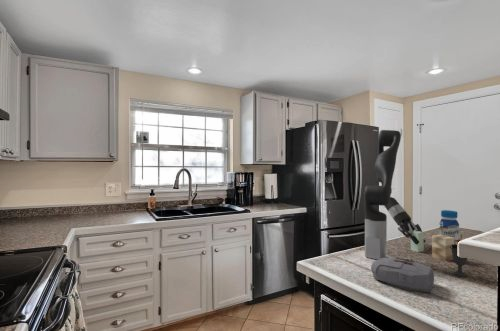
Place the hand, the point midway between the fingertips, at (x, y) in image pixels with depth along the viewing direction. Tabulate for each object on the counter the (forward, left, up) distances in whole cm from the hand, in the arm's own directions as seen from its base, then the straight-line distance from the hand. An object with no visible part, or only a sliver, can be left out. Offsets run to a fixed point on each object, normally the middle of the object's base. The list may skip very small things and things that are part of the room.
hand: (420, 243), depth 133 cm
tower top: (-5, -9, +1) cm, 11 cm away
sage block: (+1, +2, -4) cm, 5 cm away
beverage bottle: (+13, -11, -4) cm, 17 cm away
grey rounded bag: (-48, +2, -5) cm, 49 cm away
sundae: (-25, -15, -4) cm, 30 cm away
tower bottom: (-5, -9, -4) cm, 11 cm away
